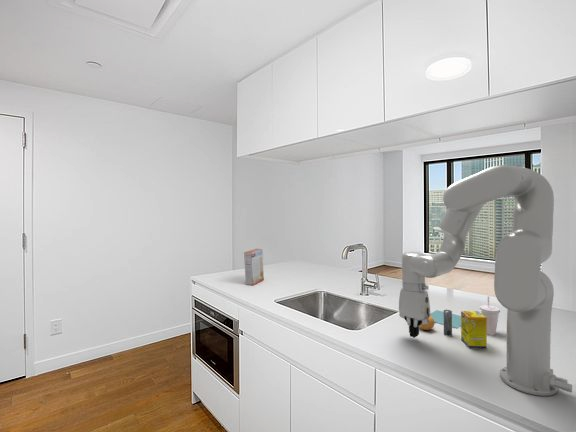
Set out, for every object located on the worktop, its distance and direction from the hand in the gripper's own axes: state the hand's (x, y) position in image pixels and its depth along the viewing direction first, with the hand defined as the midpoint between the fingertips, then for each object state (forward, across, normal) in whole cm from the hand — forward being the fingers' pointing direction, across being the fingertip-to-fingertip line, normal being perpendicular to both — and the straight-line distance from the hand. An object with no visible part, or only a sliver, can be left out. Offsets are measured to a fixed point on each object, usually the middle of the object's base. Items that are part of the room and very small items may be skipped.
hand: (414, 335), depth 113 cm
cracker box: (+2, +110, -7) cm, 110 cm away
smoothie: (+2, -17, -25) cm, 30 cm away
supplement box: (+2, -16, -11) cm, 19 cm away
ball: (-2, +1, -12) cm, 12 cm away
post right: (+2, -7, -13) cm, 15 cm away
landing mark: (+2, 0, -28) cm, 28 cm away
